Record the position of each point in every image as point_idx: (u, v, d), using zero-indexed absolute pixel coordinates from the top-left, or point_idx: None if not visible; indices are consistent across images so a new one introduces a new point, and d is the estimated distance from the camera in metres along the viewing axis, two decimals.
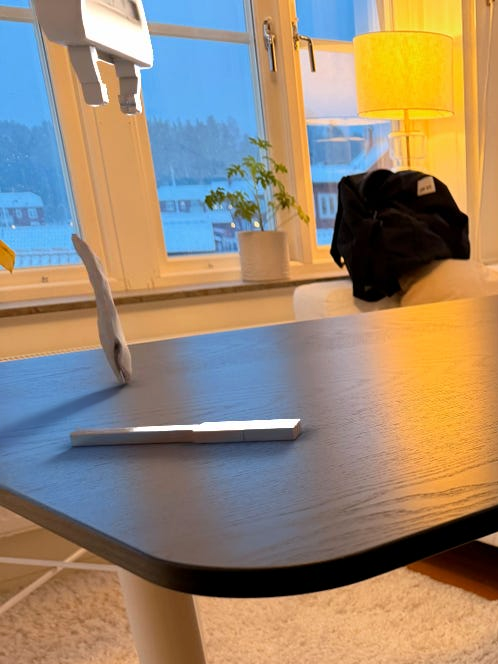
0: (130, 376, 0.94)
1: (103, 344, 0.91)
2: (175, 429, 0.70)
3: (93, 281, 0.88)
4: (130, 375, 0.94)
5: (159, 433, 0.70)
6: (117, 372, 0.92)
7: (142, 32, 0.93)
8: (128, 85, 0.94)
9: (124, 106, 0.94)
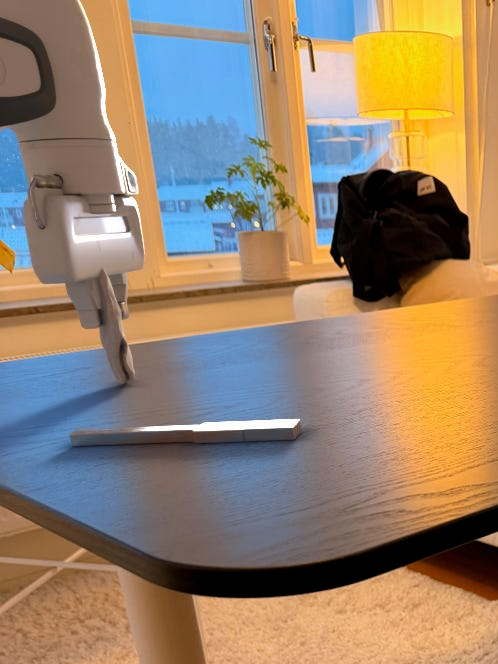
0: (133, 376, 0.94)
1: (108, 344, 0.91)
2: (175, 429, 0.70)
3: (98, 281, 0.88)
4: (133, 375, 0.94)
5: (159, 433, 0.70)
6: (122, 372, 0.92)
7: None
8: None
9: None
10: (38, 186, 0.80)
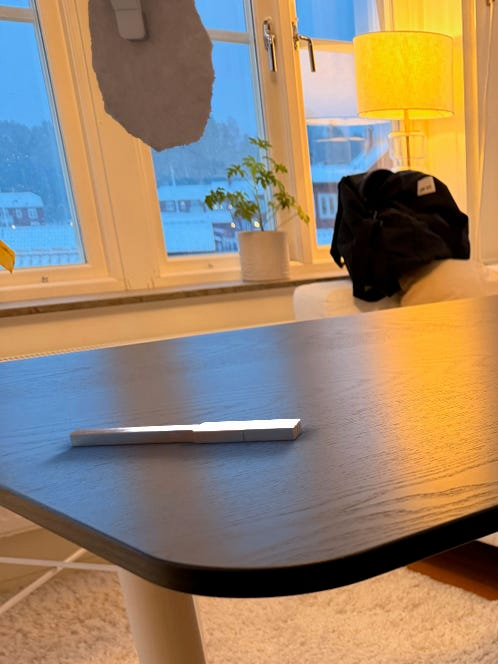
0: None
1: (195, 81, 0.68)
2: (175, 429, 0.70)
3: None
4: None
5: (159, 433, 0.70)
6: (205, 124, 0.70)
7: None
8: None
9: None
10: None
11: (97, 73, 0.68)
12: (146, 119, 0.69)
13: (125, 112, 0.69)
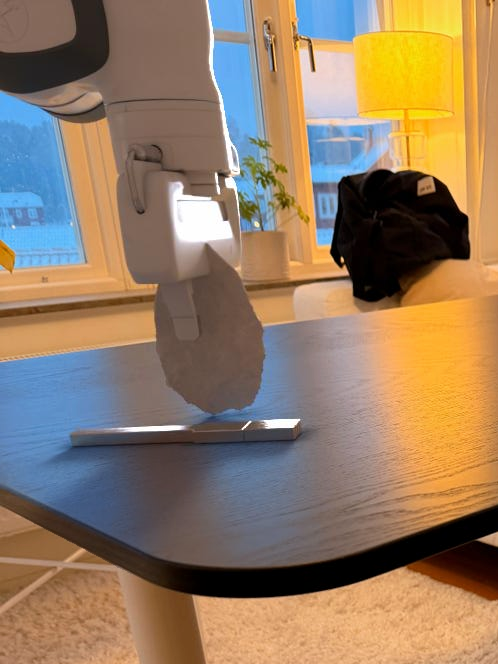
0: None
1: (248, 362, 0.76)
2: (175, 429, 0.70)
3: (240, 286, 0.74)
4: None
5: (159, 433, 0.70)
6: (256, 394, 0.78)
7: None
8: None
9: None
10: (137, 158, 0.62)
11: (160, 356, 0.76)
12: (204, 393, 0.77)
13: (185, 387, 0.77)
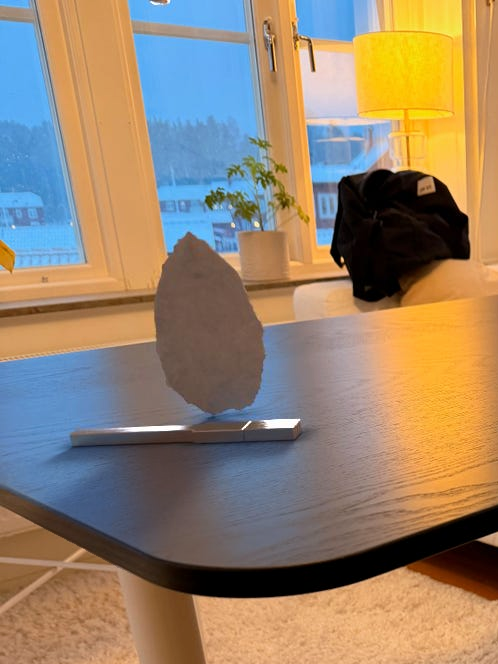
0: None
1: (248, 362, 0.76)
2: (175, 429, 0.70)
3: (240, 286, 0.74)
4: None
5: (159, 433, 0.70)
6: (256, 394, 0.78)
7: None
8: None
9: None
10: None
11: (160, 356, 0.76)
12: (204, 393, 0.77)
13: (184, 387, 0.77)
